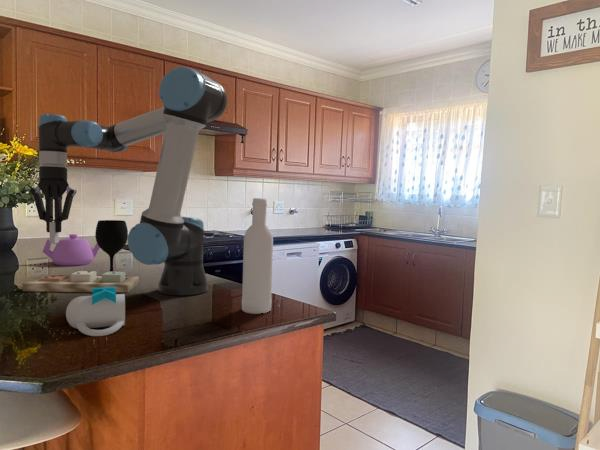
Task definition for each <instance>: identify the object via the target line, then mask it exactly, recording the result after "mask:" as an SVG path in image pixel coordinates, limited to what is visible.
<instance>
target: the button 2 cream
mask: <svg viewBox="0 0 600 450" xmlns="http://www.w3.org/2000/svg"><path fill="white" fill-rule="evenodd" d="M70 276H71V282H93V281H94V280H96V276H97V271H95V270H94V271H91V270H89V271H88V270H78V271H75V272H73V273H70Z"/></svg>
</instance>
